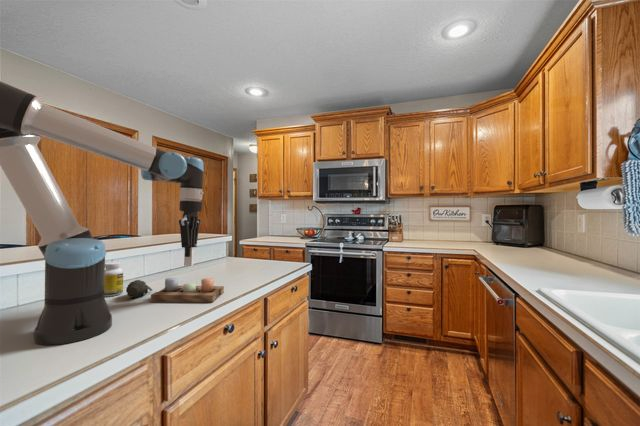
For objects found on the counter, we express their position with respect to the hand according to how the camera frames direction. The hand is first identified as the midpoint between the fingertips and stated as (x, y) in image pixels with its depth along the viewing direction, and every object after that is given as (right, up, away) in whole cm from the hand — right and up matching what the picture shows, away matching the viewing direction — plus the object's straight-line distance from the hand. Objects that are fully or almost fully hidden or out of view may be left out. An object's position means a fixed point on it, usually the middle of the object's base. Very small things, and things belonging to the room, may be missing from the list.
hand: (188, 265), depth 103 cm
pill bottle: (-29, -11, +2) cm, 31 cm away
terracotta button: (+7, -9, +1) cm, 11 cm away
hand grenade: (-19, -12, +1) cm, 22 cm away
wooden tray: (0, -12, 0) cm, 12 cm away
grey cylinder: (-6, -9, 0) cm, 11 cm away
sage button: (0, -11, 0) cm, 11 cm away
